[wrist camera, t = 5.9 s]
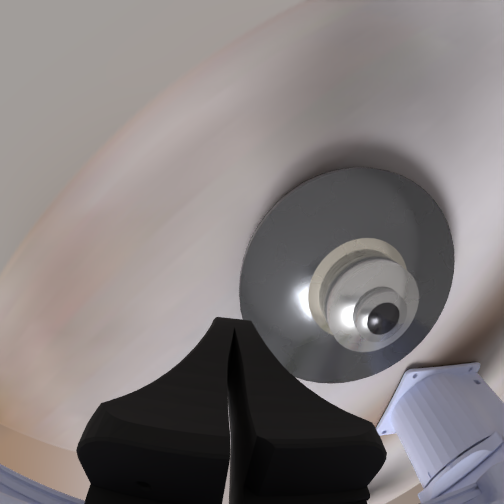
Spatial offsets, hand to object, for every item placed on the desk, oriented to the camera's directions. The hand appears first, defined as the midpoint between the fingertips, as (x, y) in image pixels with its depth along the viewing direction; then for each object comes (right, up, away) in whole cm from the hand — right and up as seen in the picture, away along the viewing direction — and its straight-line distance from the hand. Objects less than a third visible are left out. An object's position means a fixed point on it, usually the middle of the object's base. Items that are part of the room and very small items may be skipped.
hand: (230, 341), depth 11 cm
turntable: (+7, +2, +8) cm, 11 cm away
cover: (+7, +1, +6) cm, 9 cm away
